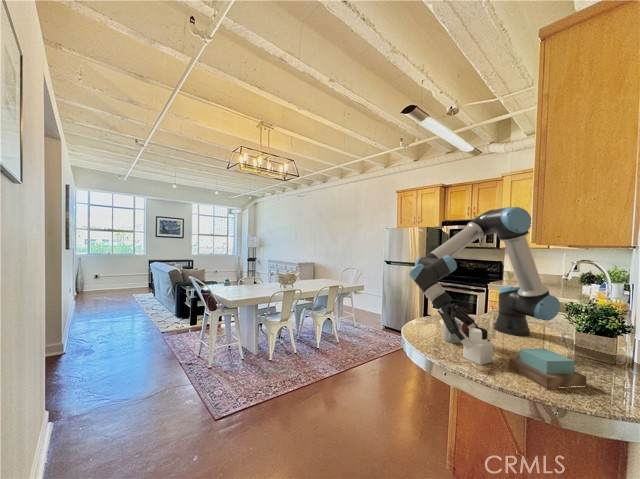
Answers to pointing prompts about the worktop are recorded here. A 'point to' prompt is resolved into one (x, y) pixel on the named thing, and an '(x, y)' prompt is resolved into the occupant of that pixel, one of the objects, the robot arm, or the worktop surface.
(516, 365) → the tower base slab
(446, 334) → the cup
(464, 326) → the dark red textured ball
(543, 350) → the tower top block
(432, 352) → the worktop surface
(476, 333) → the medicine bottle
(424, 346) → the worktop surface
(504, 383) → the worktop surface
